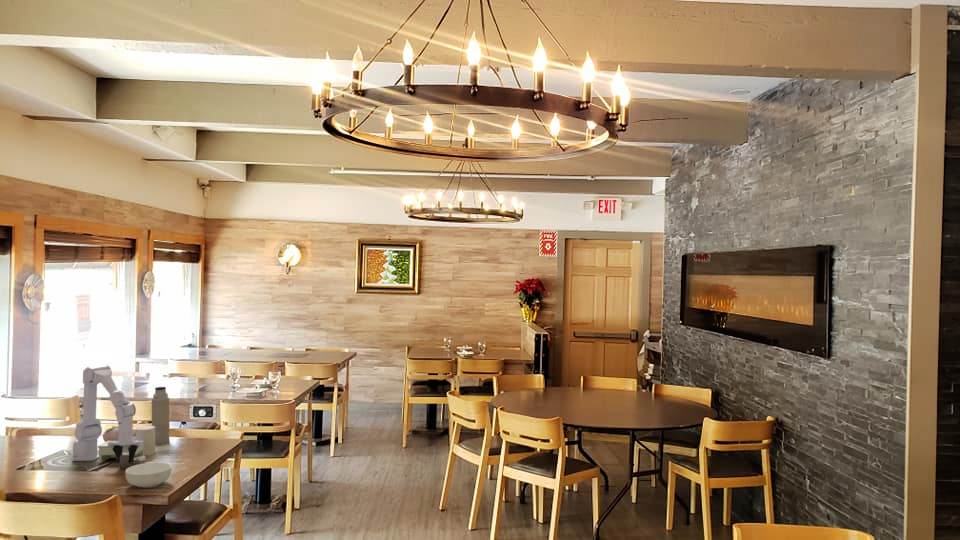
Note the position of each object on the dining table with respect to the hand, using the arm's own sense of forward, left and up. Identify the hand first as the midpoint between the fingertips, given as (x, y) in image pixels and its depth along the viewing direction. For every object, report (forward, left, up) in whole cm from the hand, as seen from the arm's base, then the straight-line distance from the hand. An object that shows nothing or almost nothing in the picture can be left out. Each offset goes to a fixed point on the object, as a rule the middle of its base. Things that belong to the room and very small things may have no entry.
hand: (125, 462), depth 310 cm
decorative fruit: (-22, +38, -2) cm, 43 cm away
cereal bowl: (+20, -25, -2) cm, 33 cm away
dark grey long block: (-1, +5, -2) cm, 6 cm away
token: (+2, +9, -2) cm, 9 cm away
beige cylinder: (-1, +24, -2) cm, 24 cm away
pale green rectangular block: (-7, +12, -2) cm, 14 cm away
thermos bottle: (-1, +42, -2) cm, 42 cm away
